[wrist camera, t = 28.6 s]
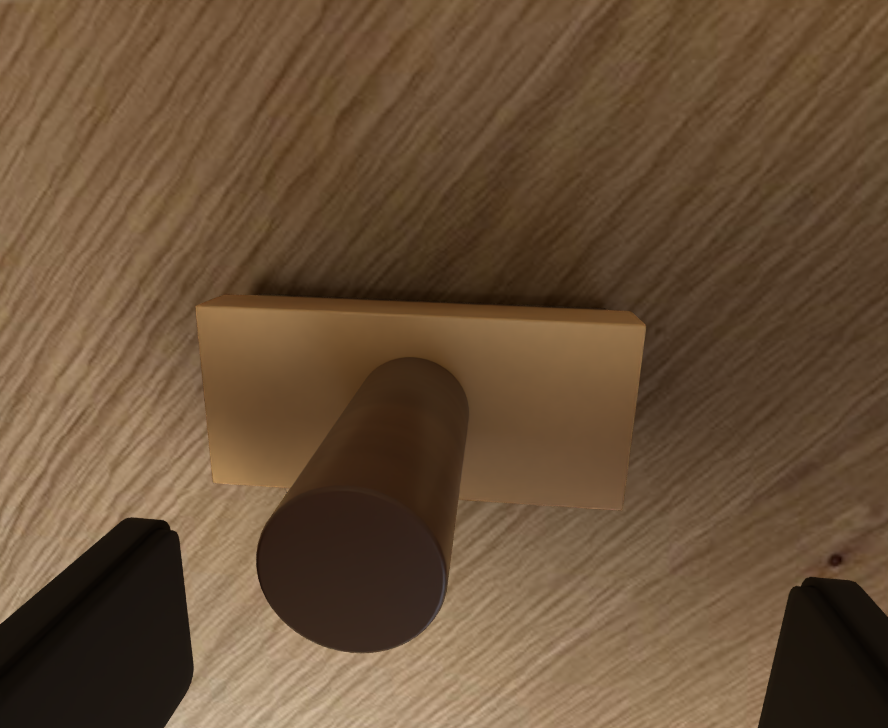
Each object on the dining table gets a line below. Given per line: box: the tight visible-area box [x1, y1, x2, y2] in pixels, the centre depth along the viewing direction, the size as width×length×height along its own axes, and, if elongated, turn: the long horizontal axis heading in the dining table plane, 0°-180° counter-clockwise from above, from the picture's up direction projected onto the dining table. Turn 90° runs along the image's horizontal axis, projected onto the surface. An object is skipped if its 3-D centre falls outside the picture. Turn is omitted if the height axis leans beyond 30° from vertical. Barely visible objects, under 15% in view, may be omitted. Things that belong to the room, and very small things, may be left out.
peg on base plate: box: [195, 294, 646, 653], centre depth 12 cm, size 4×10×9 cm, turn 89°
